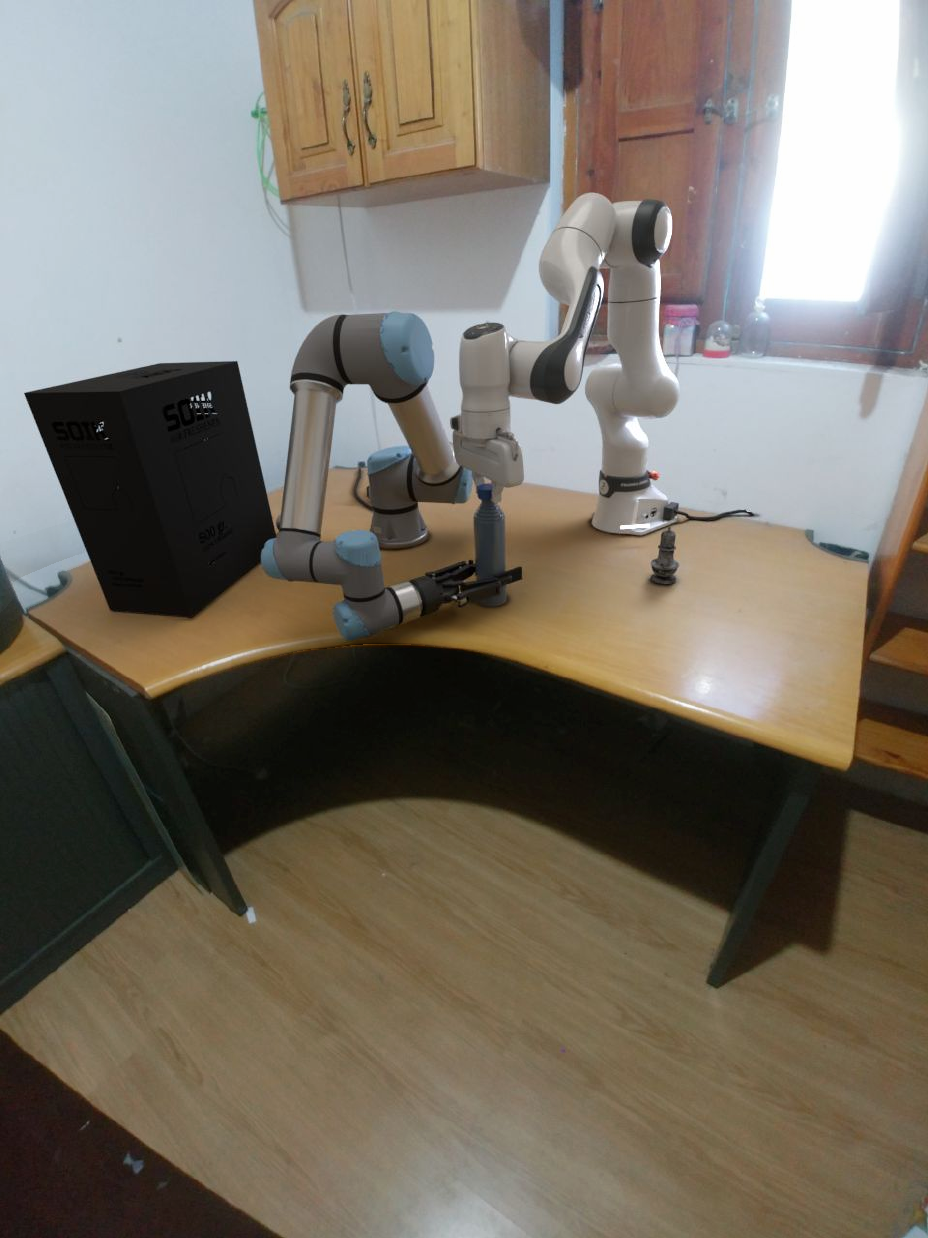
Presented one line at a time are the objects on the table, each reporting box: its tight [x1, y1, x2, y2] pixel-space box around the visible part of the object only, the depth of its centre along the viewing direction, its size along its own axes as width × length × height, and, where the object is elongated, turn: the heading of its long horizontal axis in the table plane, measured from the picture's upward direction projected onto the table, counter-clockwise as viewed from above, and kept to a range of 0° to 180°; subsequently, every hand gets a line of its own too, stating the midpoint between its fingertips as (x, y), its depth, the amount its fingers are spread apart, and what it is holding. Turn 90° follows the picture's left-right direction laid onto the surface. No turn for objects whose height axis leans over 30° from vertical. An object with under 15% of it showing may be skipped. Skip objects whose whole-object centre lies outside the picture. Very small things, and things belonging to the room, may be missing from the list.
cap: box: [477, 482, 493, 501], centre depth 115 cm, size 4×4×2 cm
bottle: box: [472, 500, 508, 608], centre depth 121 cm, size 6×6×24 cm
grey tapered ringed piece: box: [649, 526, 680, 585], centre depth 128 cm, size 6×6×12 cm
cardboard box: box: [23, 360, 278, 618], centre depth 133 cm, size 38×20×45 cm, turn 167°
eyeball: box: [275, 513, 281, 531], centre depth 163 cm, size 6×6×6 cm
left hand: (510, 567), depth 126 cm, fingers closed on bottle, 6 cm apart
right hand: (488, 497), depth 116 cm, fingers closed on cap, 4 cm apart
